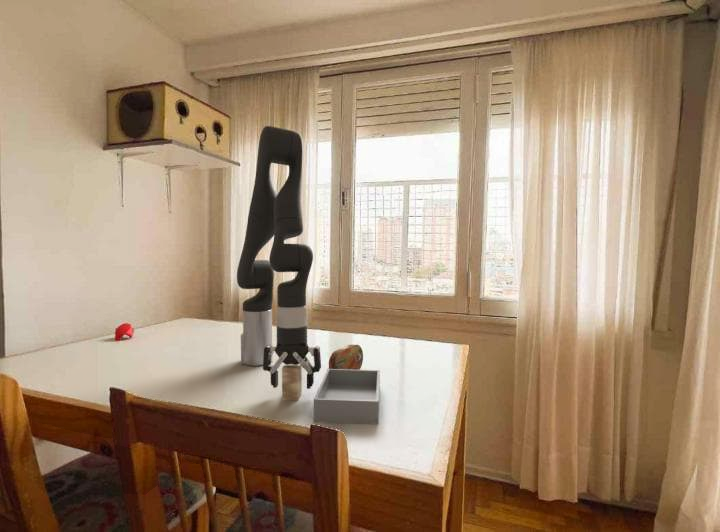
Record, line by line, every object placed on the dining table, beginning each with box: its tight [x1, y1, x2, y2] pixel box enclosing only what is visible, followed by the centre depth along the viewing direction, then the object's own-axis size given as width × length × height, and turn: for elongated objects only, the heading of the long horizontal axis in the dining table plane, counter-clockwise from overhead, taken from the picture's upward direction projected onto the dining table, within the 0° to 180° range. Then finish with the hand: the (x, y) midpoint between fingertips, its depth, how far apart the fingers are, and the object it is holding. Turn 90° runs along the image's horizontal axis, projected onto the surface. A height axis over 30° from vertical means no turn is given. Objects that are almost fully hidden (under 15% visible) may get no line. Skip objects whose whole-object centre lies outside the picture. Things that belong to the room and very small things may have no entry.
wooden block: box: [281, 363, 303, 401], centre depth 95 cm, size 4×4×8 cm
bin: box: [313, 368, 381, 425], centre depth 91 cm, size 14×20×5 cm
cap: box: [114, 322, 135, 342], centre depth 152 cm, size 8×6×6 cm
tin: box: [328, 344, 364, 370], centre depth 111 cm, size 15×3×8 cm, turn 148°
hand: (292, 387), depth 95 cm, fingers open, 8 cm apart
